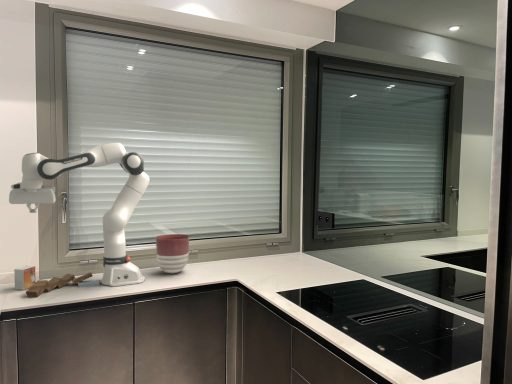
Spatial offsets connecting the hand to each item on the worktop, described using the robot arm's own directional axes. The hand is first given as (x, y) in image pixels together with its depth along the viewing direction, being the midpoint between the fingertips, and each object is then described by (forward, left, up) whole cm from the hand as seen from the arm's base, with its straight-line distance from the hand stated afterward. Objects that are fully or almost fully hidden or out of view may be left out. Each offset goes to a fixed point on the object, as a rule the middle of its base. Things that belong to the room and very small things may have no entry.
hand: (33, 212), depth 187 cm
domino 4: (-17, -3, -38) cm, 41 cm away
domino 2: (-6, +6, -38) cm, 39 cm away
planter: (-69, -16, -39) cm, 81 cm away
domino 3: (-9, 0, -38) cm, 39 cm away
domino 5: (-20, -2, -39) cm, 44 cm away
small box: (+6, -4, -39) cm, 40 cm away
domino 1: (-2, +13, -38) cm, 40 cm away
